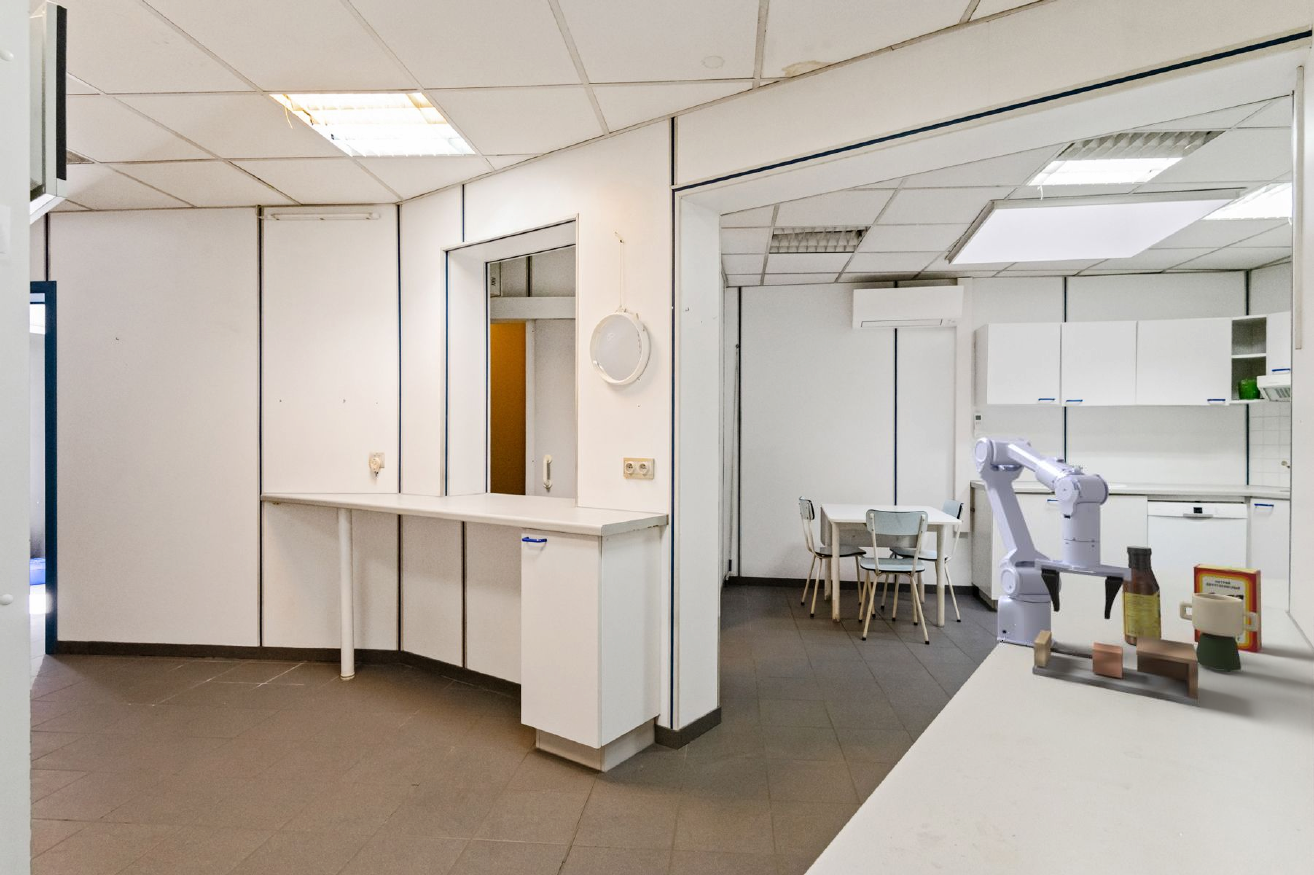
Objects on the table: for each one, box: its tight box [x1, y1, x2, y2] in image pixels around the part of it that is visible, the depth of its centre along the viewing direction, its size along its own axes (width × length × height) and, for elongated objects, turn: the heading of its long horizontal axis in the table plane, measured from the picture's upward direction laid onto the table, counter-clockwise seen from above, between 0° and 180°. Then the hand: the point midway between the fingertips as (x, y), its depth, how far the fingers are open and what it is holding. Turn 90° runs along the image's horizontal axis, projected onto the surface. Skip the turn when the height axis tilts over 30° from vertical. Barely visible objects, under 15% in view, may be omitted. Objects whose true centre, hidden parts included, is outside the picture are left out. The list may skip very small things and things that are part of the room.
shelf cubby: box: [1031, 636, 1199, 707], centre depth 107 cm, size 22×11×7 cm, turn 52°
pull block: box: [1033, 630, 1124, 678], centre depth 109 cm, size 12×10×4 cm
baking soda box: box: [1193, 563, 1263, 654], centre depth 129 cm, size 10×6×16 cm
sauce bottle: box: [1121, 545, 1162, 647], centre depth 128 cm, size 6×6×20 cm
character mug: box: [1179, 593, 1259, 672], centre depth 113 cm, size 11×7×13 cm, turn 36°
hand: (1081, 614), depth 114 cm, fingers open, 7 cm apart
